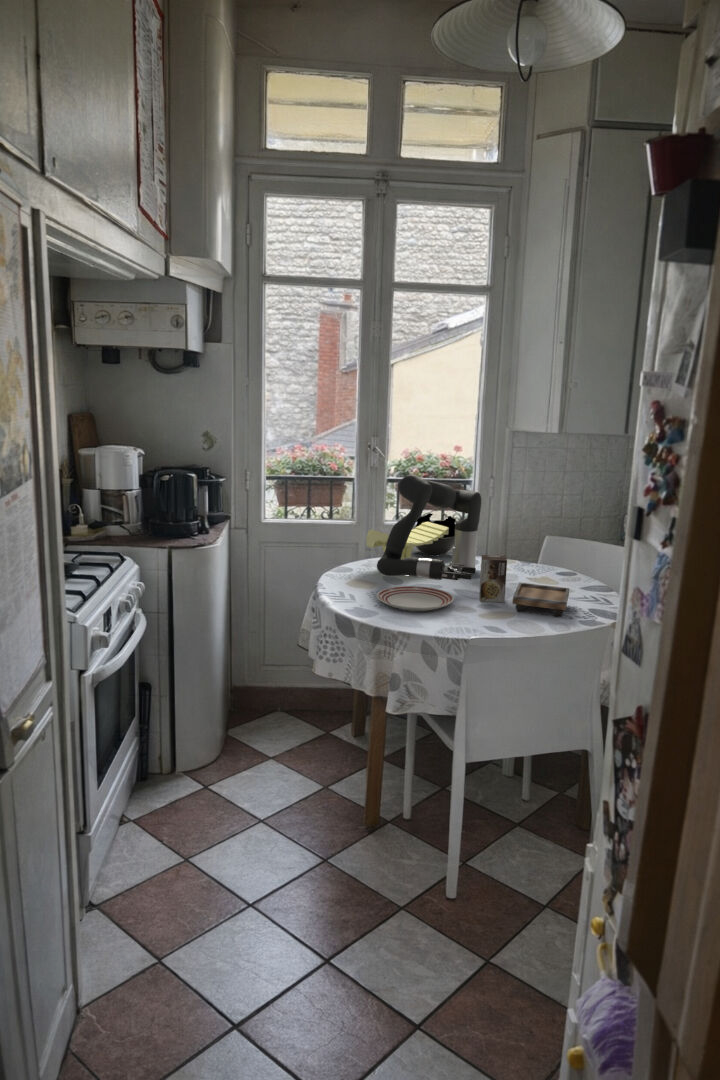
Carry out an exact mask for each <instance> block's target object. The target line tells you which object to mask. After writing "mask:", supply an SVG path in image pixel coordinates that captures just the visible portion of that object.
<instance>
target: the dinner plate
mask: <svg viewBox="0 0 720 1080" xmlns="http://www.w3.org/2000/svg"><path fill="white" fill-rule="evenodd" d="M376 597H377V599H378V600H379V601H380V602H382V603H384V604H385V605H387V606H390V607H392V608H396V609H397V608H399V609H398V610H401V609H404V610H403V611H406V610H410V611H409V612H416V611H421V612H429V611H433V610H437V609H441V608H444V607H446V606H448V605H450V604H451V603H453V601H454V600H455V597H454V596H453V594H451V593H449V592H448V591H445V590H443V589H439V588H434V587H428V586H417V585H401V586H393V587H388V588H384V589H381V590H380V591H378V592H377V593H376Z"/></svg>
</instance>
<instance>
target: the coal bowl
mask: <svg viewBox="0 0 720 1080" xmlns="http://www.w3.org/2000/svg"><path fill="white" fill-rule="evenodd" d="M433 515H434V513H430V512H428V513H427V514H425V515H424V516H420V517H419V518H418V520H417V522H416V524H415V527H417V526H420V525H421V524H422V523H424V522H431V523H434V524H438V525H441V526H445V527H448V528H449V532H448V534H447V535H444V534H443V537H442V538H439V537H438V540H437V541H433V543H432V544H424V545H419V546H416V545H415V546H414V547H415V548H416V549H417V550H418V551H419V552H421V553H422V554H424V555H427V556H429V555H433V556H432V557H438V556H437V555H439V556H442V555H445V554H447V553H448V552H449V551H450V550H451V549H453V547H454V538H455V524H456V522H457V521H456V520H457V519H456V518H454V517H453V516H451V515H448V516H447V518H445V519H444V520H433V521H431V517H432V516H433ZM415 527H413V529H415Z"/></svg>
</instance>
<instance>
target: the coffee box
mask: <svg viewBox="0 0 720 1080" xmlns="http://www.w3.org/2000/svg"><path fill="white" fill-rule="evenodd" d="M507 569H508V558H507V556H506V555H490V554H481V563H480V573H479V574H480V575H479V576H480V577H479V579H480V580H479V592H478V598H479V602H487V603H488V602H489V603H490V602H491V603H505V601H506V600H505V596H506V584H507V583H506V582H507V581H506V580H507Z"/></svg>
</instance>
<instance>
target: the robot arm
mask: <svg viewBox="0 0 720 1080" xmlns="http://www.w3.org/2000/svg"><path fill="white" fill-rule="evenodd" d="M398 492H399V495H401V496H402V497H403V498H404V499H406V500H407V501H409V502H410V503H412V505H411V508H410V510H409V512H408V513H407V514H406V515H405V516H404V517H402V518H401V519H400V520H398V521H397V522H396V523H394V525H393V526H392V528H391V530H390V532H389V534H388V535H389V537H388V540H387V543H386V549H385V552H384V551H383V555H382V556H381V557H380V558H379V560H378V561H377V563H376V569H377V571H378V572H379V573H380V574H382V575H383V576H388V577H398V576H399V577H401V576H403V575H409V577H417V578H418V577H419V578H422V579H428V580H429V579H430V580H438V581H440V580H444V579H445V580H451V581H458V580H469V581H471V579H472V578H473V577H472V576H473V575H475V574H476V571H477V568H476V561H477V560H476V557H477V545H478V544H477V543H478V529H479V524H480V517H481V510H482V496H481V493H480V492H478V491H474V490H466V489H454V487H452V486H450V485H448V484H445V483H442V482H437V481H432V480H427V479H424V478H421V477H420V476H418V475H416V474H408V475H405V476H404V477H403V478H402V479H401V480H400V481H399V483H398ZM428 504H429V505H431V506H433V507H435V508H440V509H448V508H449V509H452V510H453V511H456V512H458V513H461V514H462V513H463V514H467V517H466V518H465V519H461V520H457V521H455V538H454V546H453V547H452V553H451V555H452V556H451V562H450V563H448V565H446V564H445V563H446V562H445V560H444V559H439V558H438V559H436V558H429V557H414V556H411V557H406V558H404V559H401V556H402V552H403V549H404V547H405V545H406V542H407V540H408V537H409V535H410V533H411V530H412V529H414V528H415V526H416V524H417V520H418V519H419V518H420V517H421V515H422V513H423V511H424V509H425V508H426V506H427V505H428ZM472 574H473V575H472Z"/></svg>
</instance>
